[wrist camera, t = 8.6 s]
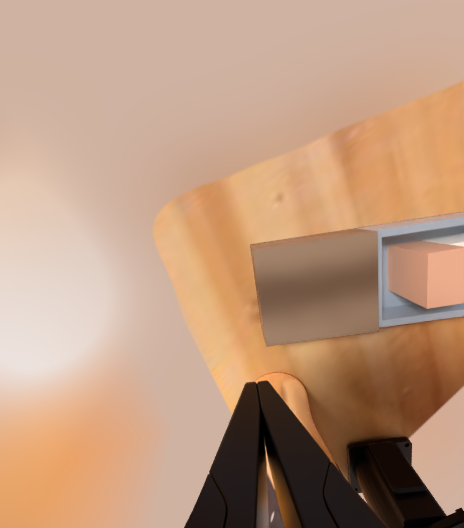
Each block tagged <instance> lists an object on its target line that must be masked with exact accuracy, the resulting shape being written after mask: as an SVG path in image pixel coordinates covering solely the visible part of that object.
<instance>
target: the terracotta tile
mask: <svg viewBox="0 0 464 528" xmlns="http://www.w3.org/2000/svg"><path fill="white" fill-rule="evenodd" d="M387 254H388V290H390V291H392V292H394V293H396V294H398V295H400V296H402V297H404V298H406V299H408V300H410V301H412V302H414V303H416V304H418V305H420V306H422V307H424V308H426V309H429V308H436V307H442V306H449V305H455V304H462V303H464V247H463V246H456V245H449V244H442V243H435V242H428V241H421V240H415V241H409V242H403V243H398V244H392V245H387Z"/></svg>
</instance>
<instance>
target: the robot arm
mask: <svg viewBox="0 0 464 528" xmlns="http://www.w3.org/2000/svg"><path fill="white" fill-rule="evenodd" d="M265 447H266V449H265ZM266 453H267V458H268V462H269V467H270V471H271V475H272V479H273V483H274V487H275V491H276V496H277V500H278V504H279V508H280V512H281V516H282V520H283V524H284V528H464V511H463V509H462V508H459V509H457V510H455V511H456V512H455V513H453V514H451V515H448V516H446V514H445V513H444V511H443V510H442V509H441V507H440V506H439V504H438V503H437V501H436V500H435V499H434V497H433V496H432V494H431V493H430V491H429V490H428V489H427V487H426V486H425V484H424V483H423V482H422V480H421V479H420V477H419V476H418V474H417V473H416V472H415V470H414V469H413V467H412V466H411V460H412V458H411V457H412V443H411V442H410V440H409V439H408V438H396V439H387V440H379V441H370V442H361V443H353V444H349V445H348V446H347V456H348V475H349V482H348V481H347V480H346V479H345V477H344V476H343V475H342V474H341V472H340V471H339V470H338V469H337V467H336V466H335V465H334V463H333V462H331V460H330V459H329V457H328V456H327V455H326V454H325V452H324V451H323V450H322V448H321V447H320V446H319V445H318V443H317V442H316V441H315V440H314V438H313V437H312V436H311V434H310V433H309V432H308V431H307V429H306V428H305V427H304V426H303V424H302V423H301V422H300V421H299V419H298V418H297V417H296V415H295V414H294V413H293V412H292V410H291V409H290V408H289V407H288V405H287V404H286V403H285V401H284V400H283V399H282V398H281V396H280V395H279V394H278V393H277V391H276V390H275V389H274V388H273V386H272V385H271V384H270V382H269V381H267V380H265V381H258V382H257V383H256V382H247V383H246V384H245V386H244V388H243V390H242V393H241V395H240V398H239V400H238V403H237V405H236V408H235V410H234V412H233V415H232V417H231V420H230V422H229V425H228V427H227V430H226V432H225V434H224V437H223V440H222V442H221V444H220V447H219V449H218V452H217V454H216V456H215V459H214V461H213V464H212V466H211V469H210V471H209V474H208V476H207V478H206V481H205V483H204V486H203V488H202V490H201V493H200V495H199V497H198V500H197V502H196V504H195V506H194V509H193V511H192V513H191V515H190V517H189V519H188V521H187V523H186V525H185V527H184V528H269V515H268V487H267V461H266ZM358 493H363V495H364V497H365V499H366V501H367V503H366V502H365V501H364V500H363V499H362V498H361V497H360V495H359V494H358Z"/></svg>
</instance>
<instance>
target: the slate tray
mask: <svg viewBox="0 0 464 528" xmlns="http://www.w3.org/2000/svg"><path fill="white" fill-rule="evenodd" d="M356 229H364V230H372V231H378V309H379V328H380V327H387V326H395V325H402V324H410V323H417V322H424V321H432V320H439V319H446V318H454V317H461V316H464V303H462V304H455V305H449V306H442V307H436V308H429V309H426V308H424V307H422V306H420V305H418V304H416V303H414V302H412V301H410V300H408V299H406V298H404V297H402V296H400V295H398V294H396V293H394V292H392V291H390V290H388V254H387V245H392V244H398V243H403V242H409V241H415V240H421V241H422V240H426V239H431V238H437V237H443V236H449V235H455V234H461V233H464V212H459V213H452V214H446V215H439V216H433V217H426V218H420V219H413V220H407V221H400V222H394V223H387V224H381V225H374V226H368V227H361V228H356Z"/></svg>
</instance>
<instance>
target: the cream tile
mask: <svg viewBox="0 0 464 528" xmlns="http://www.w3.org/2000/svg"><path fill="white" fill-rule="evenodd" d="M422 241H428V242H435V243H442V244H449V245H456V246H463V247H464V233H461V234H455V235H449V236H443V237H437V238H431V239H426V240H422Z"/></svg>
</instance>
